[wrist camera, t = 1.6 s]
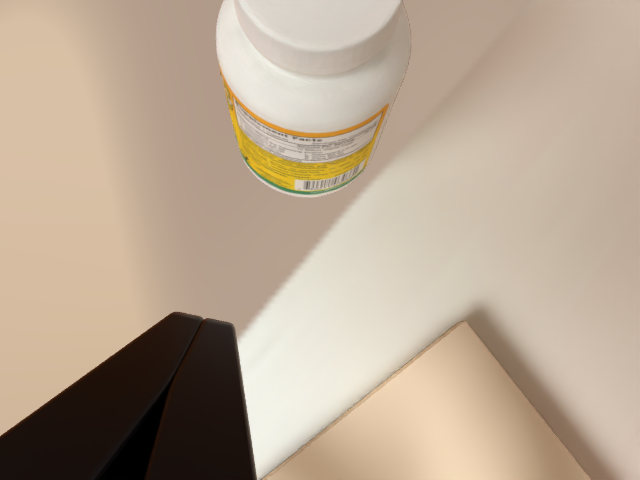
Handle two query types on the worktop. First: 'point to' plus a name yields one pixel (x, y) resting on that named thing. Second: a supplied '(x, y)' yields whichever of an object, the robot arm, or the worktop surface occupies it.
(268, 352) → the worktop surface
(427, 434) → the beige rectangular board
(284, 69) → the supplement bottle
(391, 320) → the worktop surface
